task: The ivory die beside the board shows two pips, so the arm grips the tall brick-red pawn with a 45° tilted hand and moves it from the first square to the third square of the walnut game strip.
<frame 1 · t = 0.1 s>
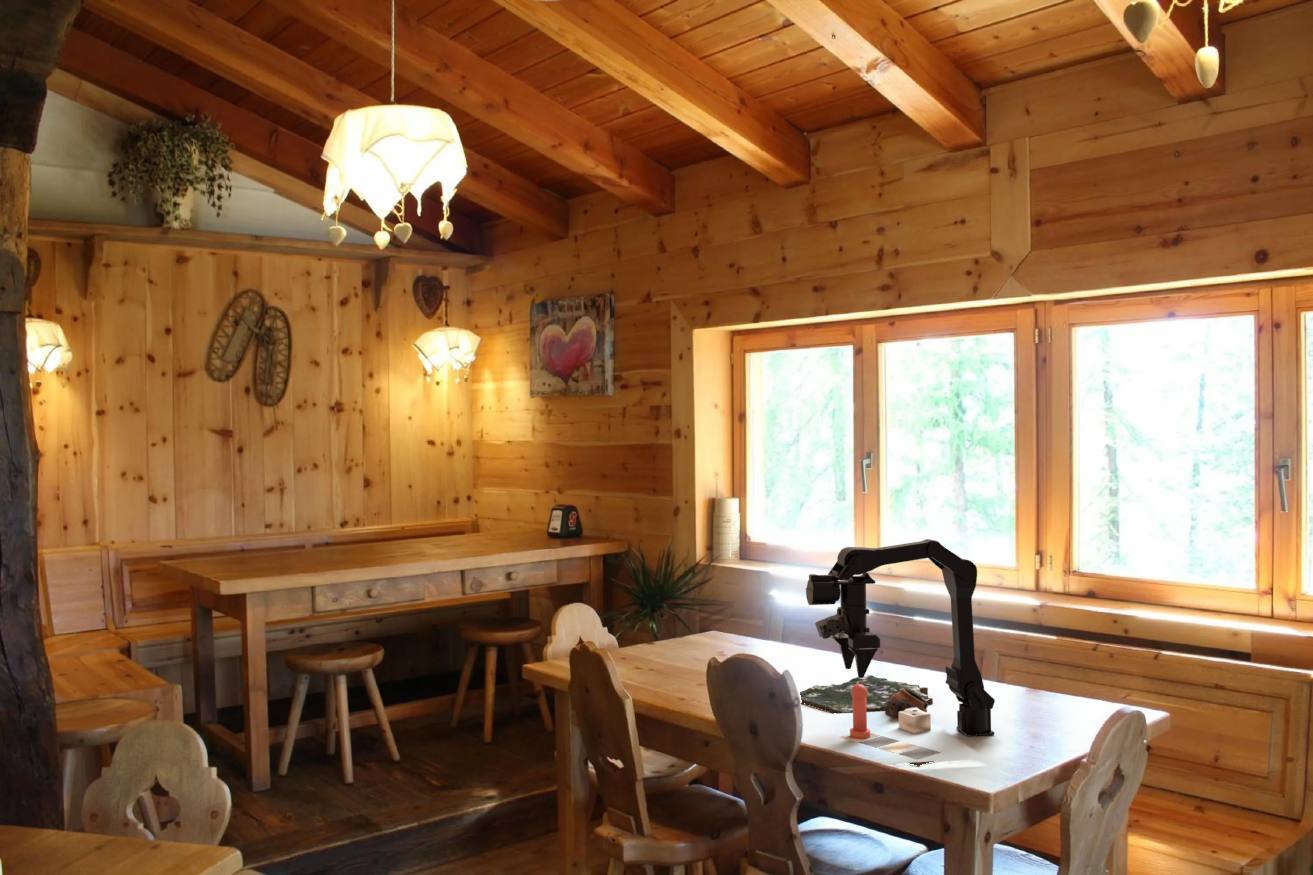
hand: (854, 673, 233), 15 cm above the table, tool pointing down, fingers open, 9 cm apart
topographical map: (867, 702, 269), on the table
die: (914, 734, 236), on the table
pawn: (860, 736, 230), point 1 cm above the table, touching game board
pottery mug: (903, 721, 248), on the table
game board: (889, 750, 224), on the table
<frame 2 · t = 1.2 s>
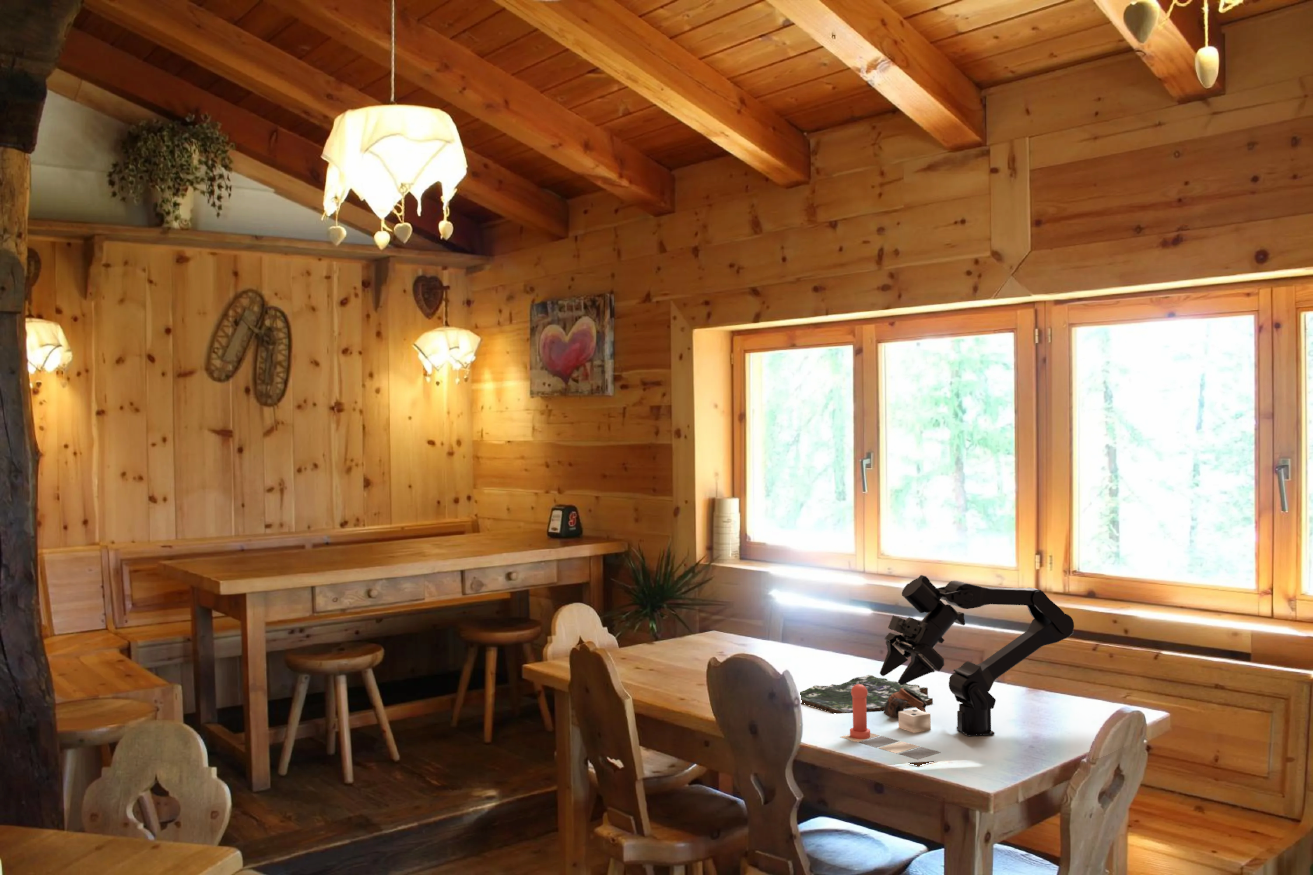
hand: (890, 679, 232), 13 cm above the table, tool tilted 45°, fingers open, 9 cm apart
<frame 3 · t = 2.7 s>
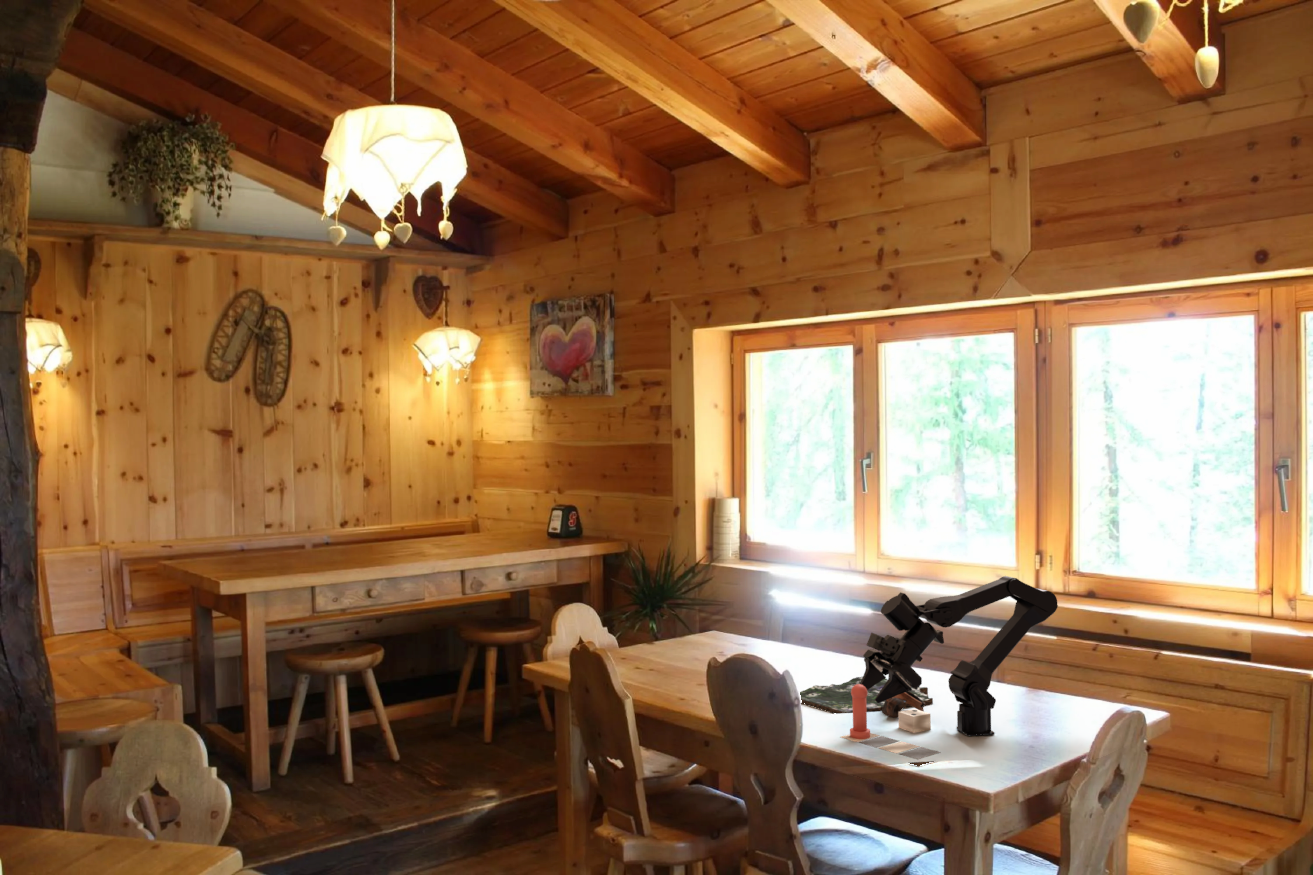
hand: (867, 696, 231), 10 cm above the table, tool tilted 45°, fingers open, 9 cm apart
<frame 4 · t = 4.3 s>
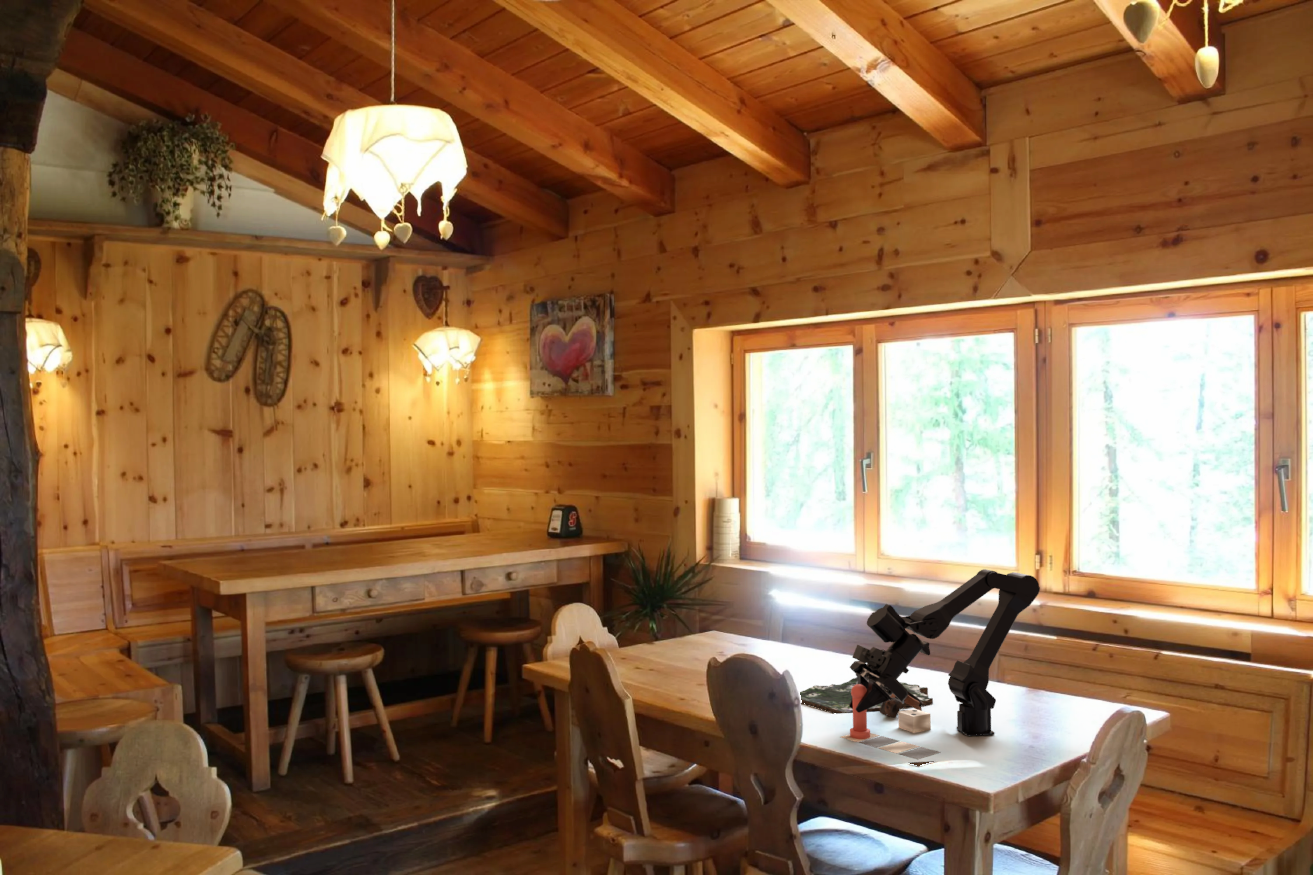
hand: (853, 709, 230), 7 cm above the table, tool tilted 45°, fingers closed on pawn, 3 cm apart
pawn: (860, 736, 230), point 1 cm above the table, touching game board, gripper
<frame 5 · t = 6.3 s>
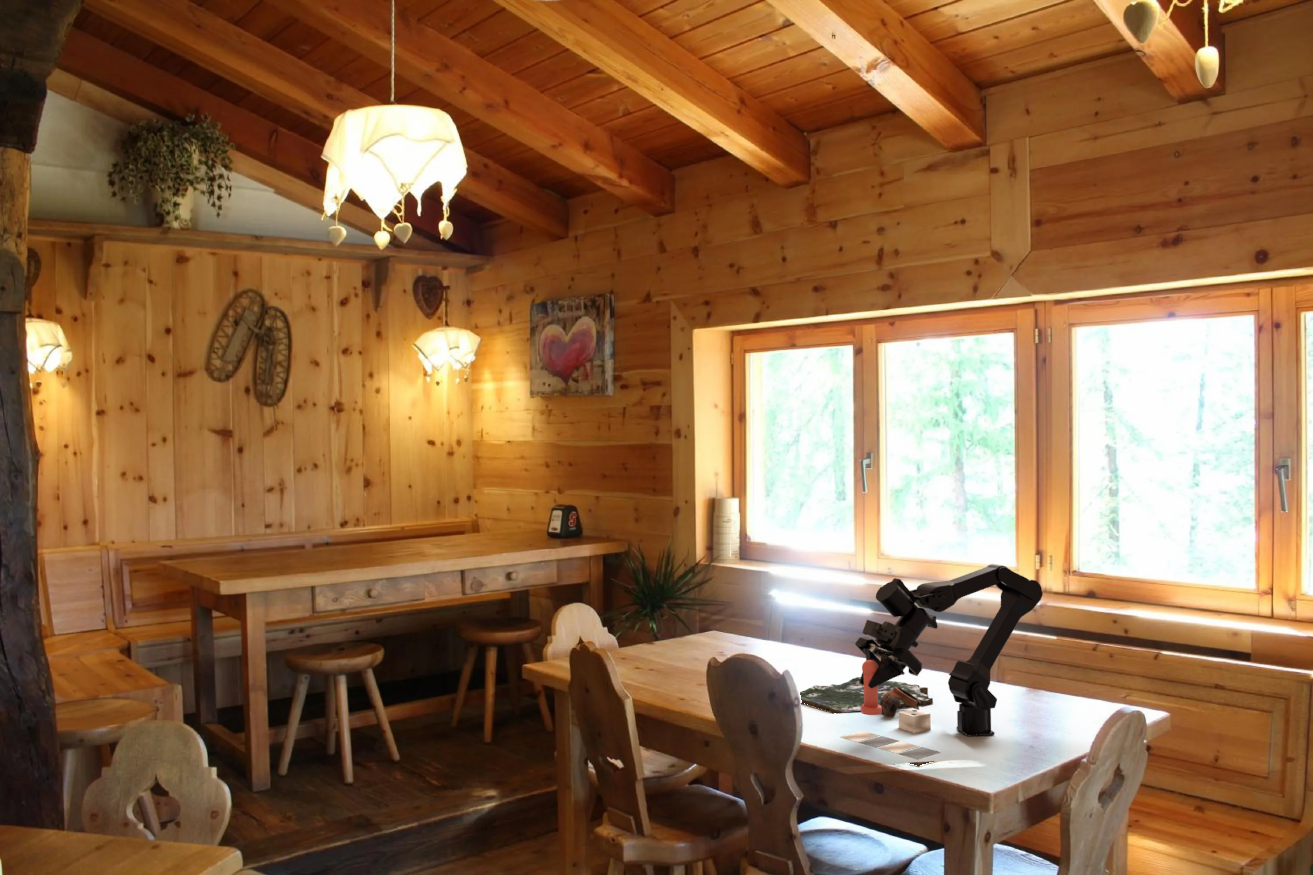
hand: (865, 685, 227), 13 cm above the table, tool tilted 45°, fingers closed on pawn, 3 cm apart
pawn: (871, 712, 227), point 7 cm above the table, touching gripper
when the fingers open (8 cm above the table, at t = 8.5 s): pawn stays where it is, resting on game board.
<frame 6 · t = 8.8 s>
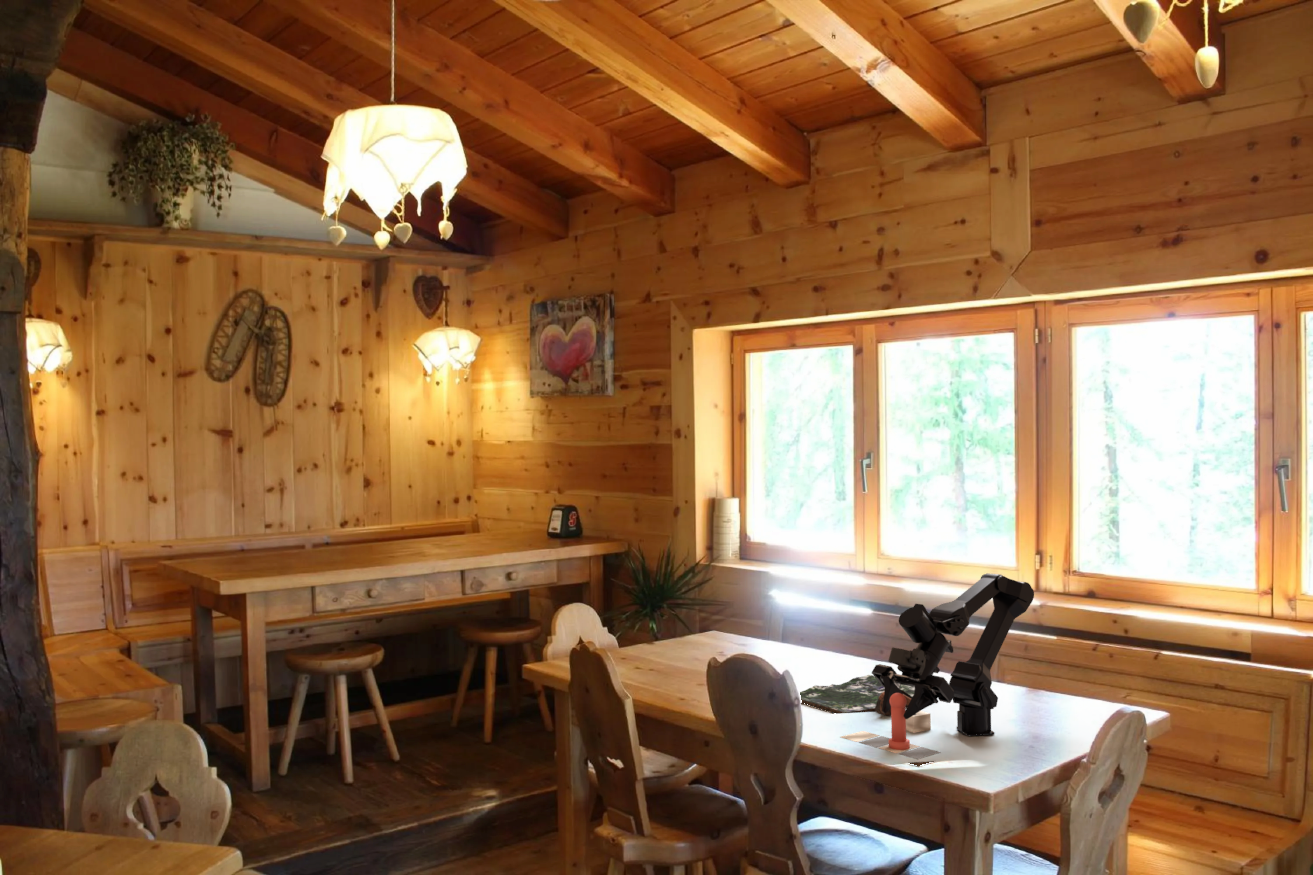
hand: (894, 714, 221), 8 cm above the table, tool tilted 45°, fingers open, 6 cm apart
pawn: (899, 746, 222), point 1 cm above the table, touching game board
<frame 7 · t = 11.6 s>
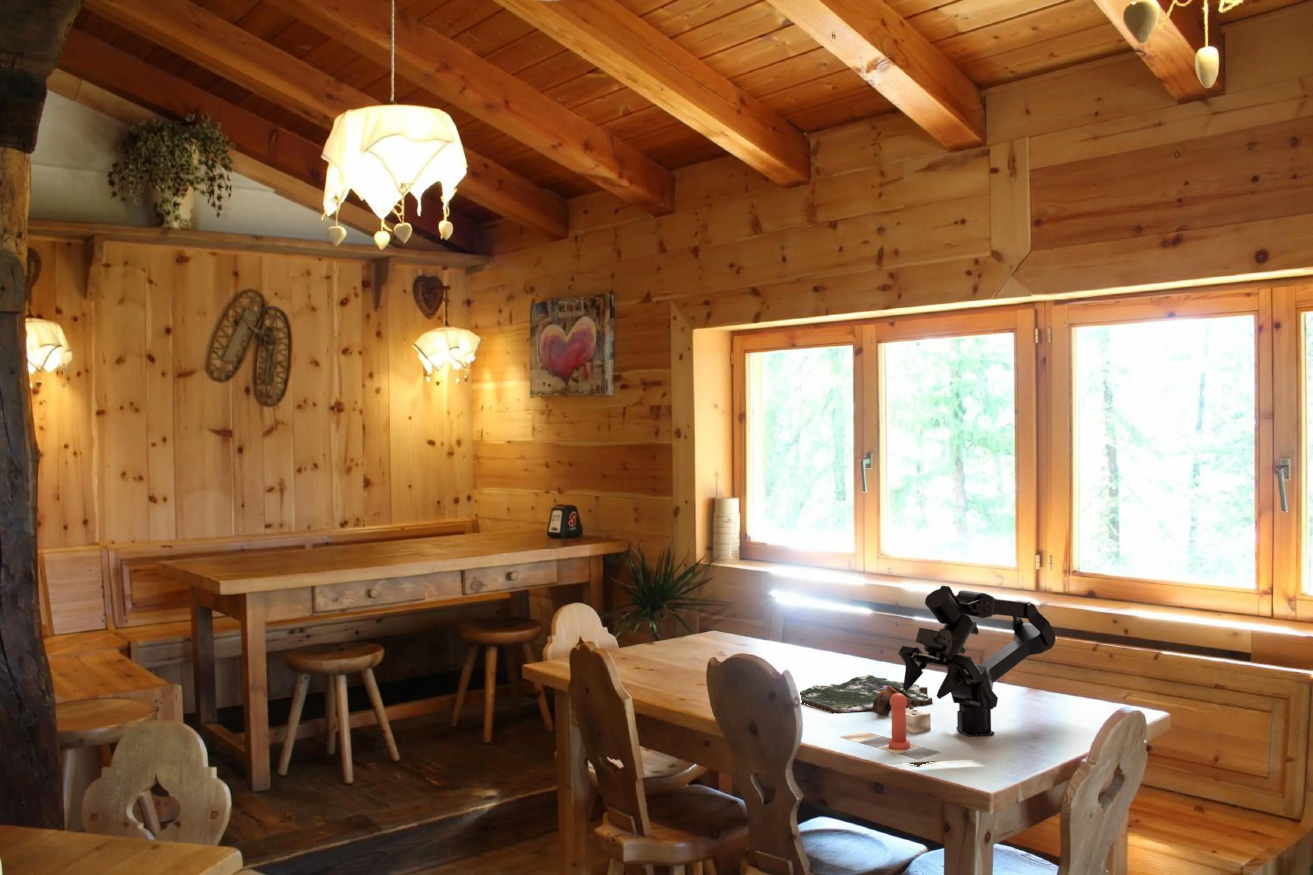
hand: (921, 693, 226), 12 cm above the table, tool tilted 45°, fingers open, 9 cm apart
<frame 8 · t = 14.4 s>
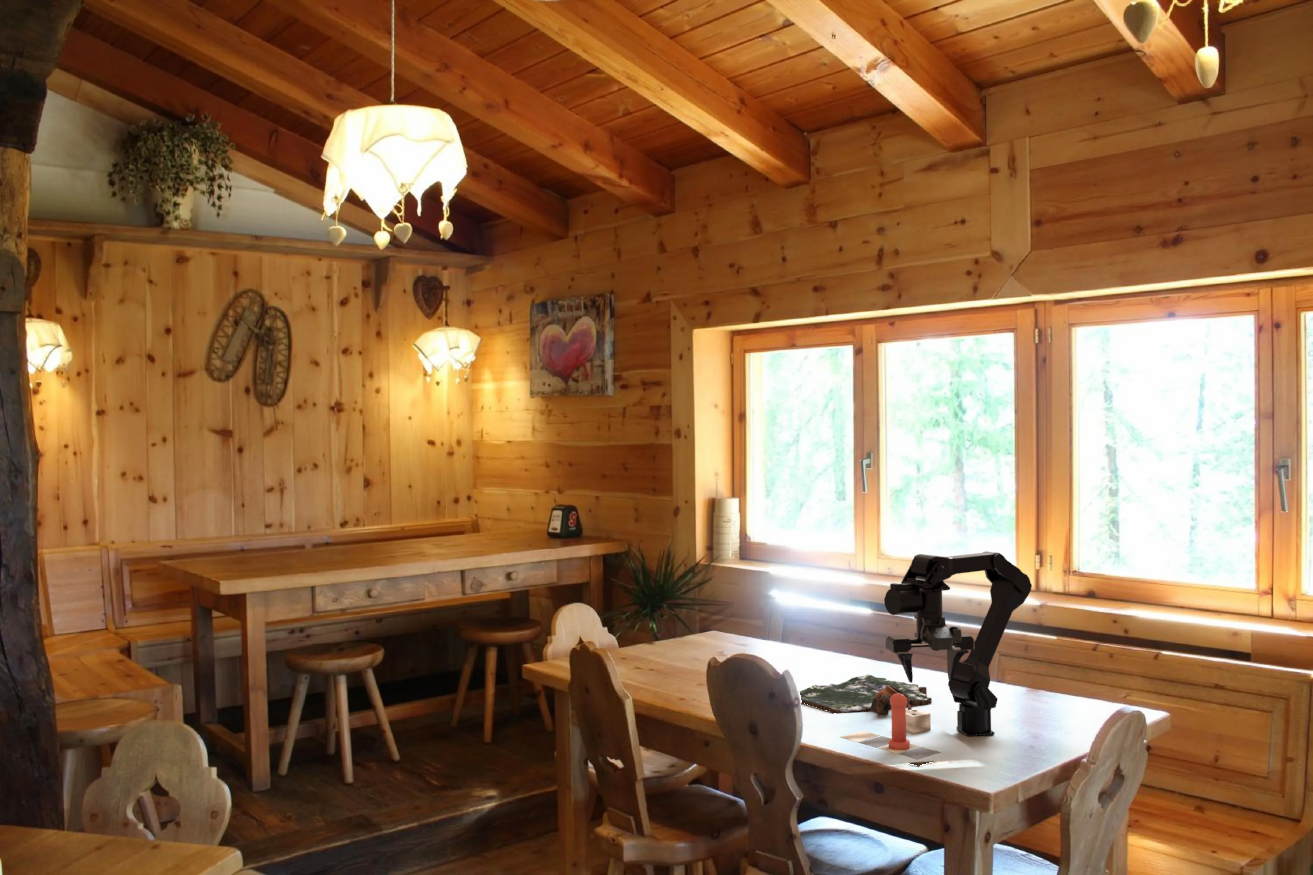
hand: (930, 681, 231), 13 cm above the table, tool pointing down, fingers open, 9 cm apart
at the end: pawn 0.0 cm from the target spot, point 1.3 cm above the table; pawn tilted 0°; the gripper is holding nothing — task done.
